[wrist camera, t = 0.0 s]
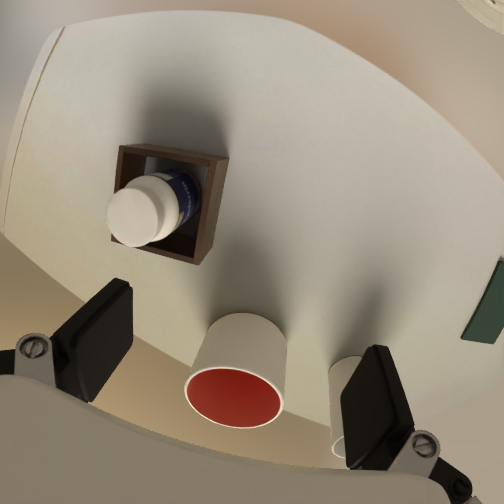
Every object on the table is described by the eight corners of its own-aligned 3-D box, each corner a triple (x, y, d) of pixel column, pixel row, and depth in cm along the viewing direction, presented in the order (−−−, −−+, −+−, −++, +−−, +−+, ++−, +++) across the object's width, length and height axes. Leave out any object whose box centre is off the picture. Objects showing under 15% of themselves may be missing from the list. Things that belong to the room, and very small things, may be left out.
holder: (143, 143, 28) (119, 145, 24) (229, 158, 28) (217, 161, 23) (133, 227, 32) (110, 241, 27) (212, 247, 31) (198, 265, 27)
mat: (498, 260, 27) (500, 261, 27) (528, 273, 27) (529, 274, 26) (460, 337, 32) (461, 339, 31) (492, 342, 31) (493, 344, 31)
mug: (354, 393, 37) (364, 461, 26) (316, 380, 36) (318, 453, 25) (399, 345, 33) (426, 415, 22) (361, 328, 33) (382, 402, 22)
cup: (192, 334, 36) (165, 389, 27) (248, 292, 33) (231, 349, 24) (245, 380, 38) (233, 437, 29) (303, 346, 35) (304, 408, 25)
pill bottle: (201, 223, 31) (164, 258, 21) (153, 218, 31) (103, 250, 22) (203, 168, 28) (163, 182, 19) (153, 166, 29) (98, 180, 20)
